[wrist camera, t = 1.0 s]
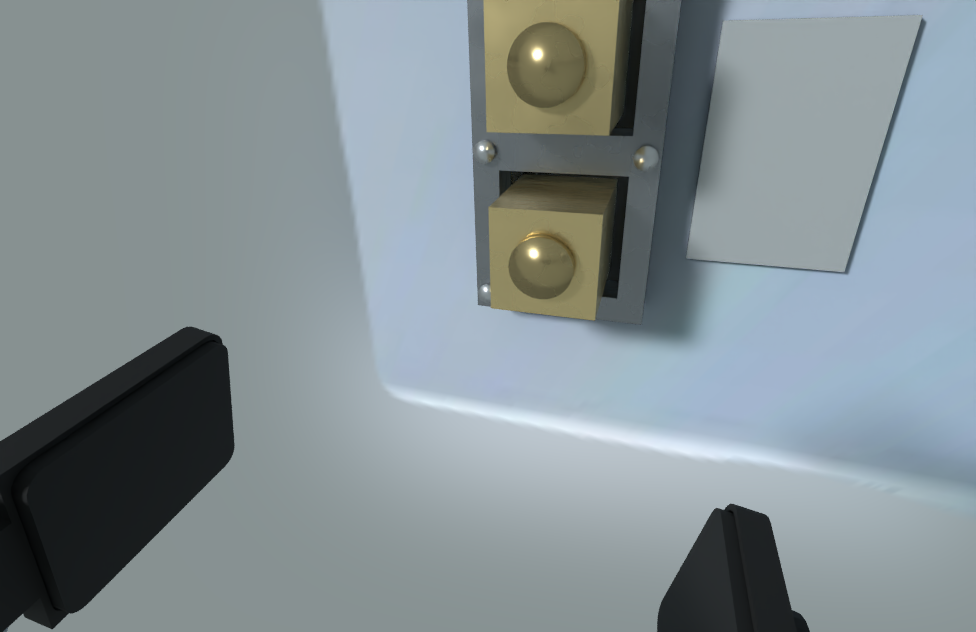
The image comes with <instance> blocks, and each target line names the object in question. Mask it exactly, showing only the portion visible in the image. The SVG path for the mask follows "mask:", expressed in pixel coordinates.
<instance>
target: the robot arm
mask: <svg viewBox="0 0 976 632" xmlns="http://www.w3.org/2000/svg"><path fill="white" fill-rule="evenodd" d="M233 452H234V433H233V420H232V405H231V391H230V377H229V363H228V351H227V348H226V347H225V346H224V345H223V344H222V340H221V338H220V337H219V336H218V335H215V334H212V333H209V332H206V331H203V330H199V329H197V328H194V327H186V328H183V329H181V330H179V331H178V332H177V333H175V334H173V335H171V336H170V337H168V338H167V339H165V340H163V341H162V342H160V343H158V344H157V345H155V346H154V347H152V348H150V349H149V350H147V351H146V352H144V353H142V354H141V355H139V356H138V357H136V358H134V359H133V360H131V361H130V362H128V363H126V364H125V365H123V366H122V367H120V368H118V369H116V370H115V371H113V372H112V373H110V374H108V375H107V376H105V377H104V378H102V379H100V380H99V381H97V382H95V383H94V384H92V385H91V386H89V387H87V388H86V389H84V390H83V391H81V392H79V393H78V394H76V395H75V396H73V397H71V398H70V399H68V400H66V401H65V402H63V403H62V404H60V405H58V406H57V407H55V408H53V409H52V410H50V411H49V412H47V413H45V414H44V415H42V416H41V417H39V418H37V419H36V420H34V421H32V422H31V423H29V424H28V425H26V426H24V427H23V428H21V429H20V430H18V431H17V432H15V433H13V434H12V435H10V436H8V437H7V438H5V439H3V440H2V441H0V632H7V629H8V627H9V625H11V624H12V623H13V622H14V621H15V620H16V619H17V618H18V617H19V616H21V615H22V614H24V616H25V617H26V618H28V619H30V620H32V621H35V622H37V623H39V624H41V625H44V626H46V627H48V628H51V629H53V628H54V627H55V626H56V625H57V624H58V623H59V622H60V621H61V620H62V619H63V618H65V617H66V615H67V614H69V613H75V612H77V611H79V610H81V609H82V608H83V607H84V606H86V605H87V604H88V603H89V602H90V601H91V600H92V599H93V598H94V597H95V596H96V595H97V594H98V593H99V592H100V591H101V590H102V589H103V588H104V587H105V586H106V585H107V584H108V583H109V582H110V581H111V580H112V579H113V578H114V577H115V576H116V575H117V574H118V573H119V572H120V571H121V570H122V568H124V567H125V566H126V565H127V564H128V563H129V562H130V561H131V560H132V559H133V558H134V557H135V556H136V555H137V554H138V553H139V552H140V551H141V550H142V549H143V548H144V547H145V546H146V545H147V544H148V543H149V542H150V541H151V540H152V539H153V538H154V537H155V536H156V535H157V534H158V533H159V532H160V531H161V530H162V529H163V528H164V527H165V526H166V525H167V524H168V522H170V521H171V520H172V519H173V518H174V517H175V516H176V515H177V514H178V513H179V512H180V511H181V510H182V509H183V508H184V507H185V506H186V505H187V503H189V502H190V501H191V500H192V499H193V498H194V497H195V496H196V495H197V494H198V492H200V491H201V490H202V489H203V488H204V487H205V486H206V485H207V484H208V482H210V481H211V480H212V479H213V478H214V477H215V476H216V475H217V474H218V473H219V472H220V471H221V470H222V469H223V468H224V467H225V466H226V464H227V463H228V462H229V460H230V459H231V457H232V455H233ZM657 624H658V625H657V630H658V631H657V632H810V631H809V628H808V626H807V623H806V621H805V619H804V618H803V617H802V615H801V614H799V613H797V612H795V611H793V610H791V605H790V602H789V597H788V594H787V589H786V585H785V581H784V577H783V572H782V568H781V564H780V560H779V556H778V552H777V547H776V543H775V539H774V535H773V531H772V527H771V523H770V520H769V518H768V517H767V516H766V515H765V514H762V513H759V512H755V511H753V510H750V509H747V508H744V507H741V506H737V505H734V504H729V505H728V506H727V507H726V508H725V510H722V509H718V508H716V509H714V511H713V512H712V513H711V515H710V517H709V519H708V520H707V522H706V524H705V526H704V527H703V529H702V531H701V533H700V535H699V536H698V538H697V540H696V542H695V543H694V545H693V547H692V549H691V550H690V552H689V554H688V556H687V558H686V559H685V561H684V563H683V565H682V566H681V568H680V570H679V572H678V573H677V575H676V577H675V579H674V581H673V582H672V584H671V586H670V588H669V589H668V591H667V593H666V595H665V596H664V598H663V600H662V602H661V605H660V609H659V613H658V622H657Z"/></svg>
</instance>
